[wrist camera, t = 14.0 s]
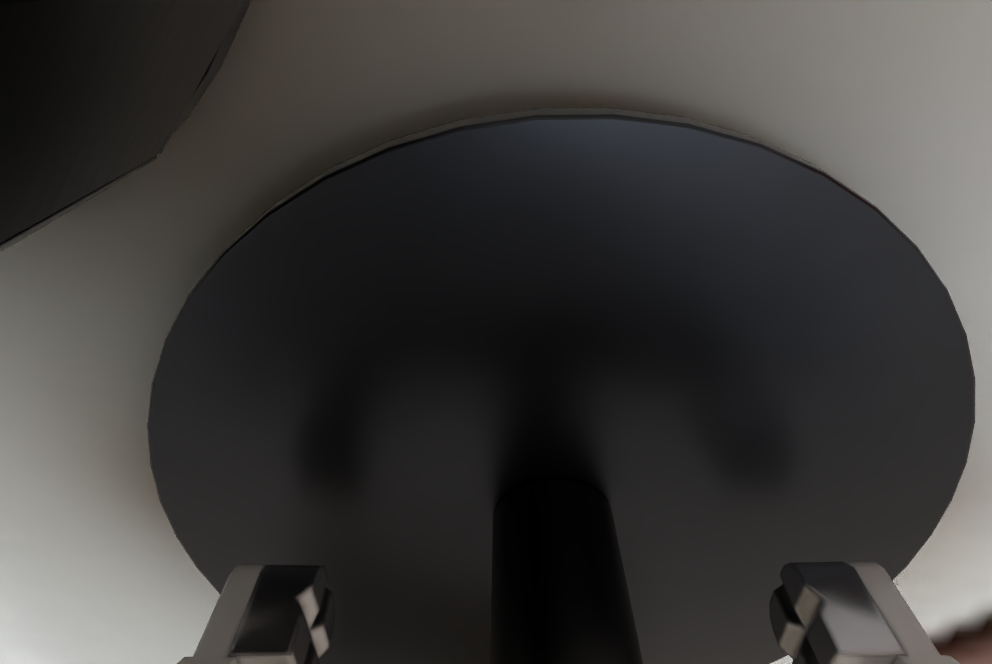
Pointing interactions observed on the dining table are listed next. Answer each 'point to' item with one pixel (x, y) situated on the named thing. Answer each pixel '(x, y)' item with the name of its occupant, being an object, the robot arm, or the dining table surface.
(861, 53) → the dining table surface
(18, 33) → the bin
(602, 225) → the bin lid
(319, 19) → the dining table surface
